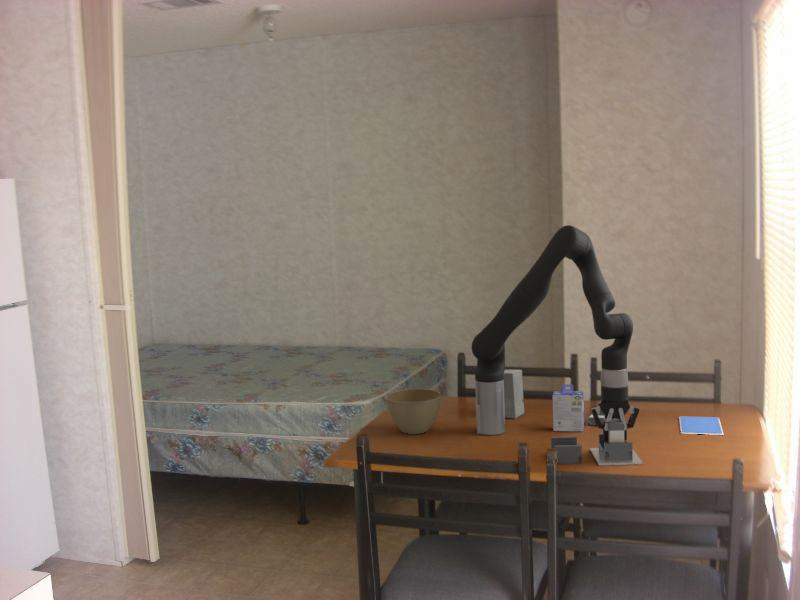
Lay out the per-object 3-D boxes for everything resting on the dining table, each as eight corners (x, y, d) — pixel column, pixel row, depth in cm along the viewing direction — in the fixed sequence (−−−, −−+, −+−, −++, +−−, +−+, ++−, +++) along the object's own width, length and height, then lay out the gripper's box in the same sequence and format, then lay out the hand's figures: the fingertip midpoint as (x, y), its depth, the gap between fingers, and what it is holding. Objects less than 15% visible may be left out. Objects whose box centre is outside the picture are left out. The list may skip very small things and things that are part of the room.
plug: (610, 454, 229) (609, 423, 228) (606, 448, 235) (605, 418, 234) (624, 454, 229) (624, 423, 228) (619, 447, 235) (619, 417, 234)
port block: (598, 465, 226) (598, 446, 225) (589, 450, 240) (589, 431, 239) (642, 464, 225) (642, 444, 225) (631, 448, 239) (630, 430, 238)
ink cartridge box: (584, 427, 264) (583, 383, 262) (584, 432, 258) (583, 387, 256) (553, 426, 266) (552, 383, 264) (552, 431, 260) (551, 387, 258)
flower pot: (405, 421, 280) (403, 386, 279) (451, 426, 271) (450, 391, 269) (377, 435, 265) (375, 399, 263) (425, 441, 256) (423, 404, 254)
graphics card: (586, 417, 265) (599, 399, 287) (586, 427, 265) (599, 408, 288) (617, 419, 261) (628, 400, 283) (617, 429, 261) (628, 410, 284)
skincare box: (515, 419, 276) (514, 374, 274) (496, 417, 280) (495, 372, 278) (525, 413, 283) (524, 369, 281) (506, 411, 287) (505, 367, 285)
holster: (555, 463, 229) (555, 446, 228) (551, 453, 238) (550, 436, 238) (581, 463, 229) (581, 446, 228) (576, 452, 238) (576, 436, 237)
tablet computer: (724, 438, 247) (724, 433, 247) (680, 436, 251) (680, 432, 251) (719, 420, 266) (719, 416, 266) (678, 419, 270) (678, 415, 269)
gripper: (591, 387, 227) (592, 446, 229) (642, 385, 226) (643, 445, 228) (586, 381, 234) (587, 438, 236) (636, 379, 233) (637, 437, 235)
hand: (615, 441), depth 232 cm, fingers closed on plug, 3 cm apart
